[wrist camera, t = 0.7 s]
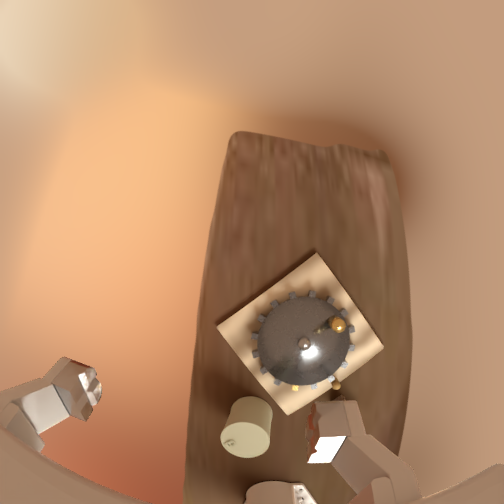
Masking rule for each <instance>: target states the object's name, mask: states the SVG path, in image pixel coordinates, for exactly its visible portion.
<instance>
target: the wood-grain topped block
mask: <svg viewBox="0 0 504 504" xmlns="http://www.w3.org/2000/svg"><path fill="white" fill-rule="evenodd" d="M333 401H347V400H346V399H345V397H344V396H343V395H340V396H339V397H337V398H336V399H334V400H333Z"/></svg>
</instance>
